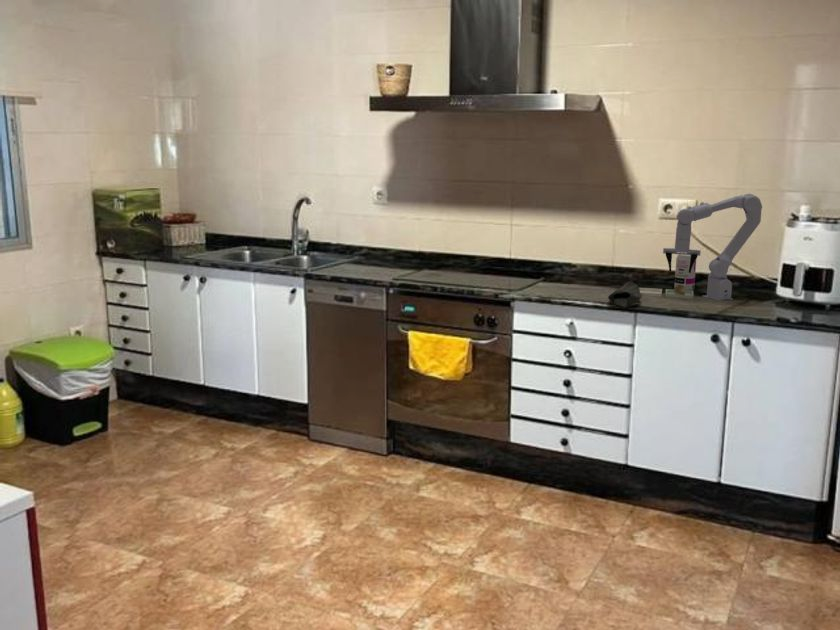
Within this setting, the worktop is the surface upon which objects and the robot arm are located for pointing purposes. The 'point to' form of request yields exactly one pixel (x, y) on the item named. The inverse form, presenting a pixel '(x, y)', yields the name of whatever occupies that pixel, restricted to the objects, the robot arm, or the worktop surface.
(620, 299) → the dark grey rubber slipper
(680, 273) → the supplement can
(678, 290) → the letter cube
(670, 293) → the sage tray
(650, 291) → the white tray
